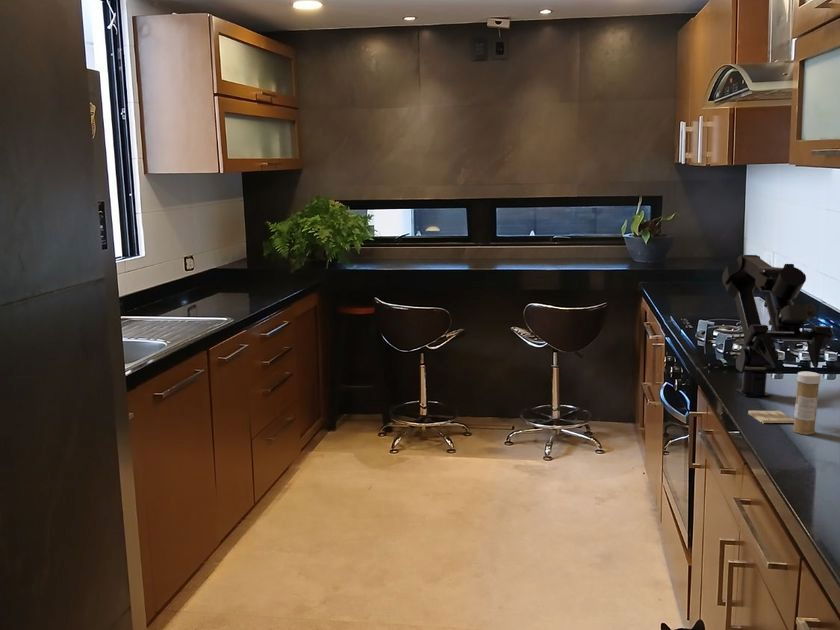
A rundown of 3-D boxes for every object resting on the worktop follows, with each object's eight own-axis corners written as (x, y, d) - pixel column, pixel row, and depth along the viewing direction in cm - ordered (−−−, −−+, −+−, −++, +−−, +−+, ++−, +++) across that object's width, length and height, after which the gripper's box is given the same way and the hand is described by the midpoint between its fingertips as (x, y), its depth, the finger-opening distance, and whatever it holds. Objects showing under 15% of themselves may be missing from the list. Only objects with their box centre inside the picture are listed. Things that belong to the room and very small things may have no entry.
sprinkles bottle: (796, 428, 188) (802, 369, 186) (818, 432, 185) (823, 373, 183) (789, 432, 184) (794, 373, 182) (810, 436, 181) (816, 376, 179)
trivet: (748, 413, 199) (748, 410, 199) (779, 413, 199) (779, 410, 199) (763, 423, 191) (763, 419, 191) (795, 423, 191) (795, 419, 191)
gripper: (751, 290, 193) (764, 346, 184) (834, 292, 192) (851, 348, 183) (738, 318, 202) (750, 373, 193) (816, 320, 201) (832, 375, 192)
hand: (795, 367), depth 190 cm, fingers open, 9 cm apart
